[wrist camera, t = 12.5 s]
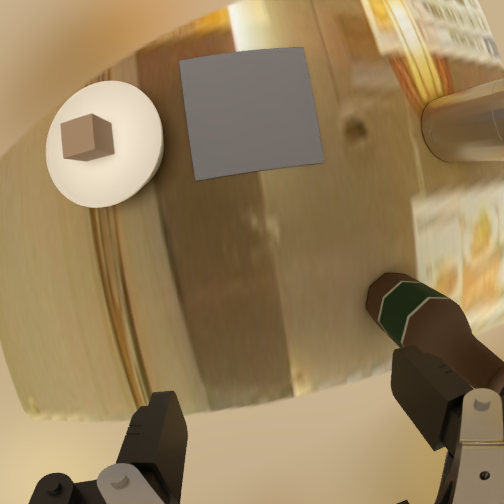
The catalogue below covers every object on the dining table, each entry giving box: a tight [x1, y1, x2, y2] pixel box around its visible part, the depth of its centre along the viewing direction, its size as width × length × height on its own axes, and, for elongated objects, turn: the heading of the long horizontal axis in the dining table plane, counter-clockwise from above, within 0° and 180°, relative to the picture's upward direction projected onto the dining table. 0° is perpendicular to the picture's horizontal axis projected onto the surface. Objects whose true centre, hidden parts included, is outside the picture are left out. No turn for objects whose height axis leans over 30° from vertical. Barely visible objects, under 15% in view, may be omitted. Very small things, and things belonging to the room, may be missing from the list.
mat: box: [179, 47, 324, 181], centre depth 35 cm, size 15×15×1 cm
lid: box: [46, 81, 163, 208], centre depth 26 cm, size 13×13×6 cm
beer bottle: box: [366, 273, 504, 396], centre depth 29 cm, size 8×8×24 cm
